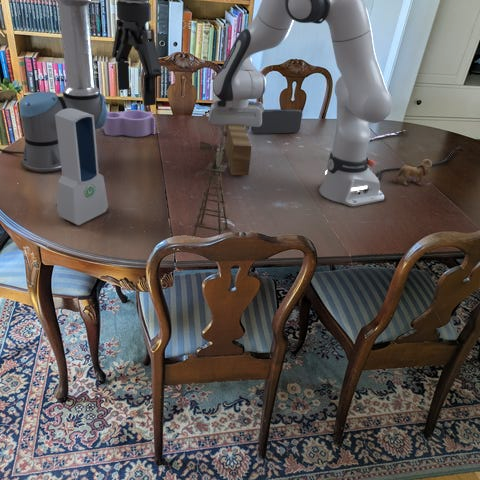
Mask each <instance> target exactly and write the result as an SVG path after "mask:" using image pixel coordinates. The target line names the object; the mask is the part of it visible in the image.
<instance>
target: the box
mask: <svg viewBox="0 0 480 480" xmlns="http://www.w3.org/2000/svg"><path fill="white" fill-rule="evenodd" d="M245 129H246V128H245V126H244V125H232V124H228V126H225V131H226V132H227V134H226V136H224V143H225V144H224V143H223V144H224V145H223V147H225V148H224V150H225V154H226V155H225V156H226V158H227V162H228V167H229V170H230V174H231V176H249V175H250V166H251V165H250V164H251V156H252V148H253V147H252V144H251V141H250V138H249V135H248V132H247V133H246V130H245Z"/></svg>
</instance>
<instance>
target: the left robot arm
mask: <svg viewBox="0 0 480 480" xmlns="http://www.w3.org/2000/svg"><path fill="white" fill-rule="evenodd" d="M54 1H55V2H56V3H57V7H58V15H59V16H58V17H59V25H60V33H61V34H60V35H61V43H62V52H63V53H62V54H63V61H64V70H65V79H66V80H65V81H66V85H65V86H64V87H63V88H62V96H61V95H60V96H58V94H57V93H56V92H54V91H36V92H32V93H28V94H26V95H25V96H23V97H22V98H21V99H20V100H19V103H18V104H19V116H20V119H21V125H22V132H23V136H24V148H23V151H13V150H12V151H11V150H5V149H2V148H0V152H3V153H6V154H15V155H16V154H19V155H22V158H21V159H22V160H21V161H22V166H23V168H24V169H25V170H27V171H29V172H33V173H39V174H46V173H56V172H61V171H62V168H61V161H60V153H59V145H58V137H57V129H56V121H55V114H56V113H58V112H59V111H61V110H63V109H67V108H73V109H77V110H80V111H82V112H85V113H88V114H91V115H94V123H95V130H99V129H100V130H101V129H102V128H104V124H105V122H106V119H107V112H108V104H107V99H106V97H105V96H104V94H103V93H100V92H101V91H100V89H99V88H98V86H97V85H95V77H94V63H93V52H92V38H91V27H90V24H91V23H90V12H89V5H90V3H91V2H92V1H93V0H54ZM149 1H150V0H117V1H116V18H117V19H116V21H115V22H116V23H115V25H116V30H115V34H114V40H113V46H112V51H111V56H112V58H113V59H114V58H115V62H117V63H116V67H117V87H118V88H117V89H118V90H119V91H127V90H130V64H129V63H130V59H129V56H130V54H131V51H132V48H133V49H134V50H135V51H136V52H137V54H138V58H139V61H140V63H141V66H142V69H143V72H144V75H143V76H142V78H143V106H145V107H149V106H150V107H151V106H156V105H157V78H158V77H162V75H163V74H162V73H163V72H162V69H161V64H160V63H161V62H160V59H159V55H158V50H157V45H156V39H155V30H154V28H153V29H148V28H147V23H148V22H151V21H152V5H151V3H150V2H149Z"/></svg>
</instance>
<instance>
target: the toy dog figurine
mask: <svg viewBox="0 0 480 480" xmlns="http://www.w3.org/2000/svg"><path fill="white" fill-rule="evenodd" d="M432 164H433V162H432V160H431V159H428V158H425V159H422V161H421V163H419V165H417V166H418V167H410V166H411V165H404V166H401V167H402V168H401V169H400V170H398V172H397V174H395V176H394V179H393V182H392V184H395V183H396V182H398V178H399V177H402V176H403V178H402V183H403V185H404V186H408V183H407V182H406V180H407V179H408V178H409V177H413V180H412V182H414V183H416V182H417V184H418V185H420V186H422V181H423V179H424V177H426V176H427V175H428V174H429V173H430V171H431V170H432V167H433V166H432ZM417 178H418V180H417Z"/></svg>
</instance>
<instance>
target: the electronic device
mask: <svg viewBox="0 0 480 480" xmlns="http://www.w3.org/2000/svg"><path fill="white" fill-rule="evenodd" d="M55 121H56V129H57V137H58V145H59V153H60V161H61V168H62V170H61V176H60V177H59V179H58V181H57V190H56V191H57V193H56V195H57V196H56V212H57V213H58V215H59V217H60V218H62V219H64V220H66V221H68V222H69V223H72V224H74V225H76V226H81V225H82V224H84V223H86V222H88V221H90V220H92V219H94V218H96V217H98V216H100V215H102V214H104V213H106V212H107V210H108V208H109V203H108V197H107V191H106V185H105V179H104V175H103V174H101V173H99V163H98V150H97V148H98V147H97V136H96V129H95V123H94V115H91V114H88V113H85V112H82V111H80V110H77V109H73V108H67V109H63V110H61V111H59V112H58V113H56V114H55Z"/></svg>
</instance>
